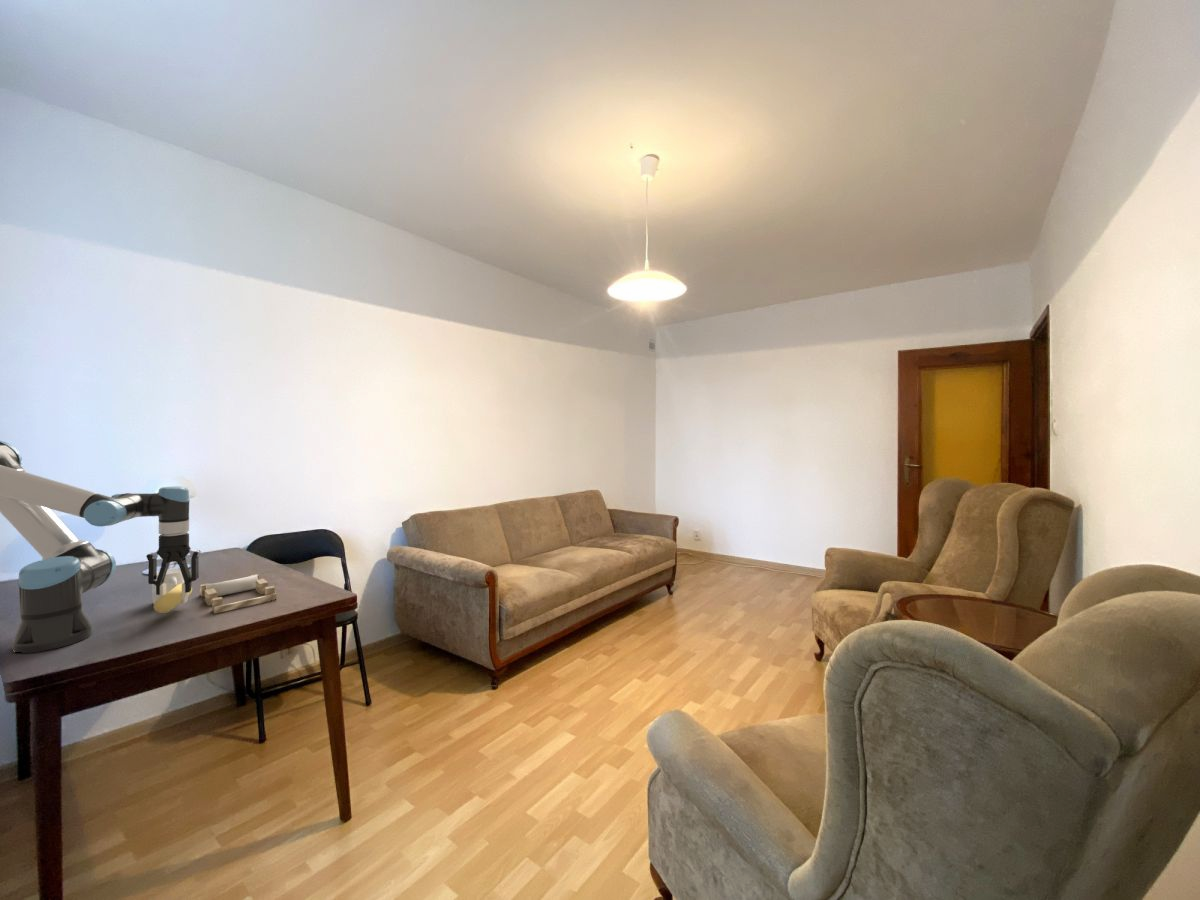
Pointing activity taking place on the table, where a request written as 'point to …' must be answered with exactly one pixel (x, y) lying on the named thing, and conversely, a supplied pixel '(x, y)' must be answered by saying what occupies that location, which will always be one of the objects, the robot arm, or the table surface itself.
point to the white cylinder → (234, 585)
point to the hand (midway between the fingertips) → (174, 602)
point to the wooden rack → (219, 607)
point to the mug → (169, 581)
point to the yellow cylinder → (170, 599)
